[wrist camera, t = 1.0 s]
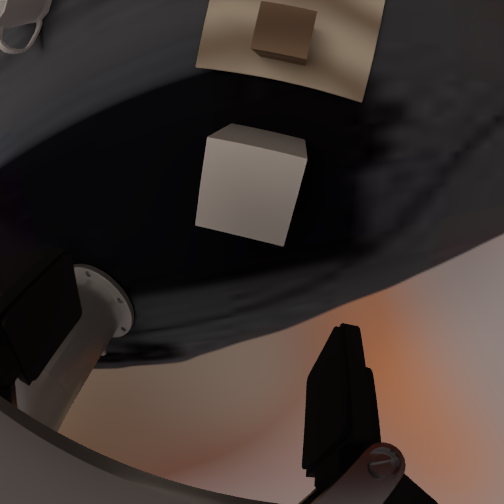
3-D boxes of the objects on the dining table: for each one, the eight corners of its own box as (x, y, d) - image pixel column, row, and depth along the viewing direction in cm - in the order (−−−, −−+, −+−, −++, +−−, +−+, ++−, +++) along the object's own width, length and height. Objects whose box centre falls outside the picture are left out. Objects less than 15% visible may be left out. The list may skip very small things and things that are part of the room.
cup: (60, -28, 17) (13, -37, 10) (62, 39, 22) (10, 39, 15) (22, -1, 18) (-24, -2, 12) (24, 62, 23) (-25, 70, 16)
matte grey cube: (287, 206, 29) (283, 246, 22) (219, 190, 29) (195, 225, 22) (304, 139, 26) (307, 159, 19) (231, 123, 26) (207, 137, 19)
